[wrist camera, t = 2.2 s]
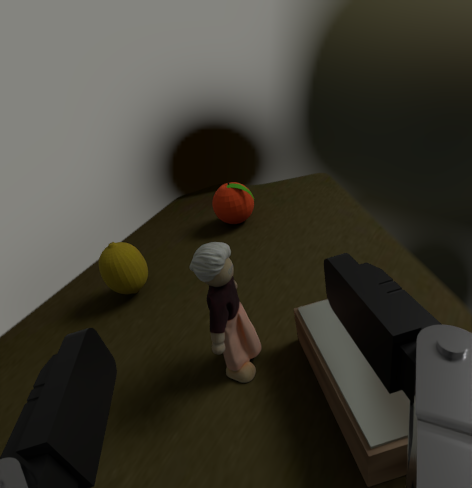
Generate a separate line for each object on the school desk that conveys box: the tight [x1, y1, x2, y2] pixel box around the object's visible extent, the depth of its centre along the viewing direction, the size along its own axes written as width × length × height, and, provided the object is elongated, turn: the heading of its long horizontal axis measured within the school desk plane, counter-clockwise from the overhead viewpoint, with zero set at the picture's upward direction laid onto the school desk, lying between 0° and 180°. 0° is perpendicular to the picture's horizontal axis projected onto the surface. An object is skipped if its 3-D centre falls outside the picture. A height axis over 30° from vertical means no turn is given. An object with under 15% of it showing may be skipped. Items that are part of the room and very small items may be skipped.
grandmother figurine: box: [190, 242, 261, 383], centre depth 25 cm, size 8×4×13 cm, turn 3°
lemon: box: [99, 242, 148, 294], centre depth 39 cm, size 6×6×8 cm
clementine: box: [213, 182, 255, 224], centre depth 50 cm, size 8×7×7 cm
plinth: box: [294, 299, 409, 487], centre depth 23 cm, size 9×12×4 cm
